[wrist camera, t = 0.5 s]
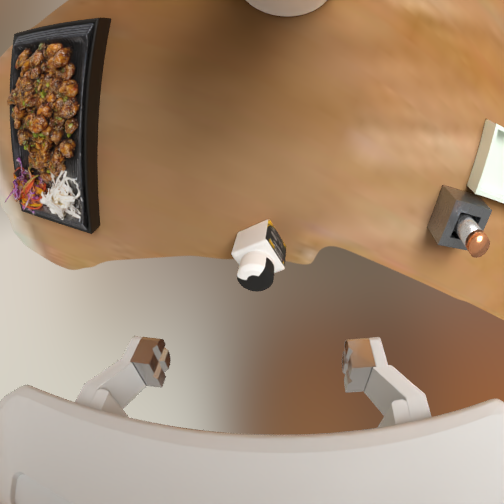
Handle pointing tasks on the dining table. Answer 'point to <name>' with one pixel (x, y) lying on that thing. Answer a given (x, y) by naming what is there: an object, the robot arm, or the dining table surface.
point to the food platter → (58, 120)
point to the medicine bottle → (258, 255)
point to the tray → (489, 164)
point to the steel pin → (471, 235)
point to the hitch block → (455, 215)
